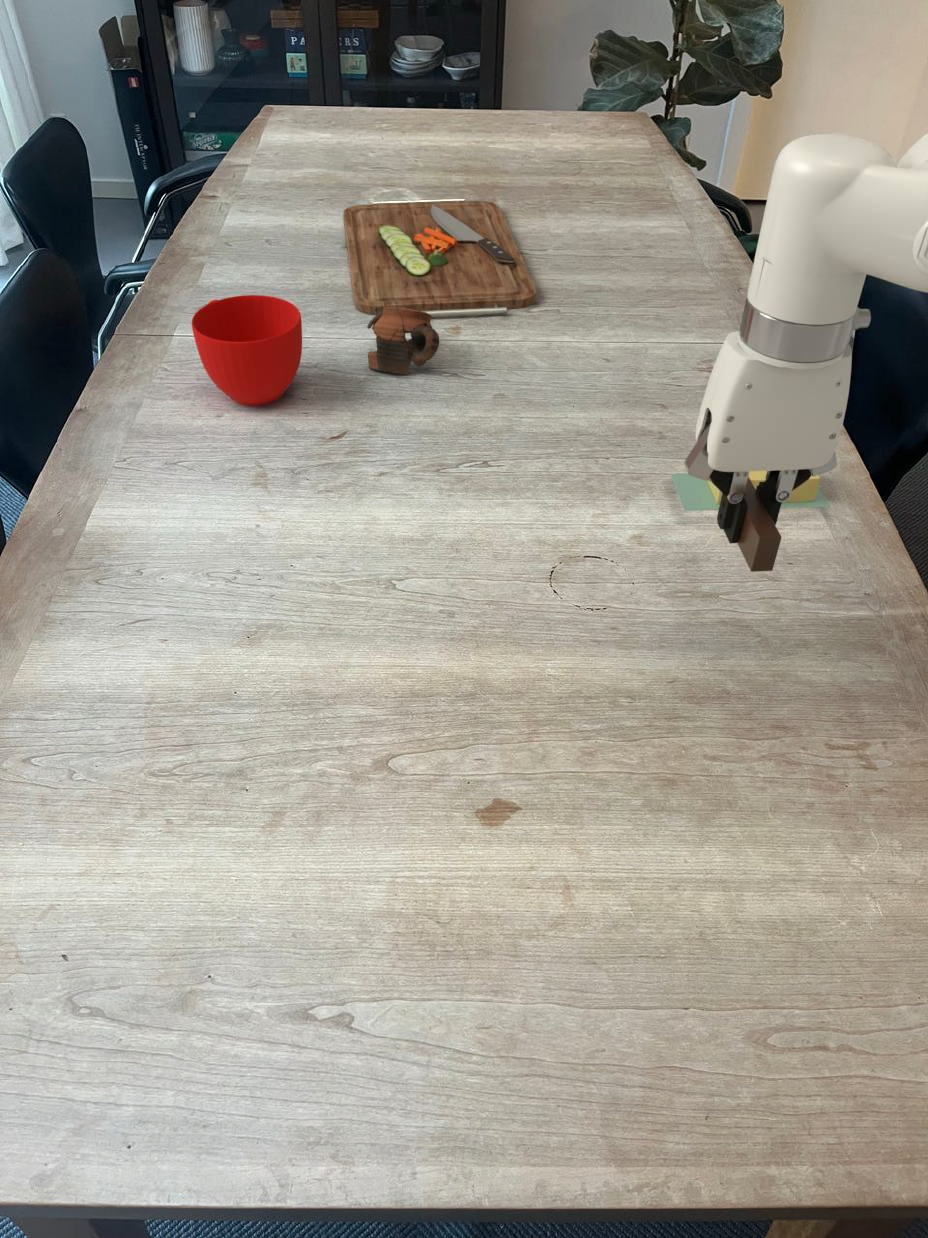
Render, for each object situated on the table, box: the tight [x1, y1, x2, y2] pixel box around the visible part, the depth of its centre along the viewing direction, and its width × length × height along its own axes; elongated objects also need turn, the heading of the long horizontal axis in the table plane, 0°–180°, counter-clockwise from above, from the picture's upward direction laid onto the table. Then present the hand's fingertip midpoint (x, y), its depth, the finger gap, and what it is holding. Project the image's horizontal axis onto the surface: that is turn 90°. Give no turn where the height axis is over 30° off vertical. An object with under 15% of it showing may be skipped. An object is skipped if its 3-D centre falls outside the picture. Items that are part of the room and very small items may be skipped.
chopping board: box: [342, 197, 537, 317], centre depth 158 cm, size 45×27×3 cm, turn 8°
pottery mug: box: [366, 306, 440, 375], centre depth 131 cm, size 12×10×8 cm
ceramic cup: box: [191, 294, 303, 407], centre depth 124 cm, size 13×17×10 cm
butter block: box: [748, 471, 821, 502], centre depth 109 cm, size 8×5×3 cm, turn 94°
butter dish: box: [669, 473, 831, 512], centre depth 110 cm, size 16×7×1 cm, turn 94°
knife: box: [720, 476, 783, 573], centre depth 86 cm, size 2×19×3 cm, turn 5°
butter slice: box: [707, 480, 722, 504], centre depth 109 cm, size 2×5×3 cm, turn 4°
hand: (743, 531), depth 84 cm, fingers closed on knife, 1 cm apart
